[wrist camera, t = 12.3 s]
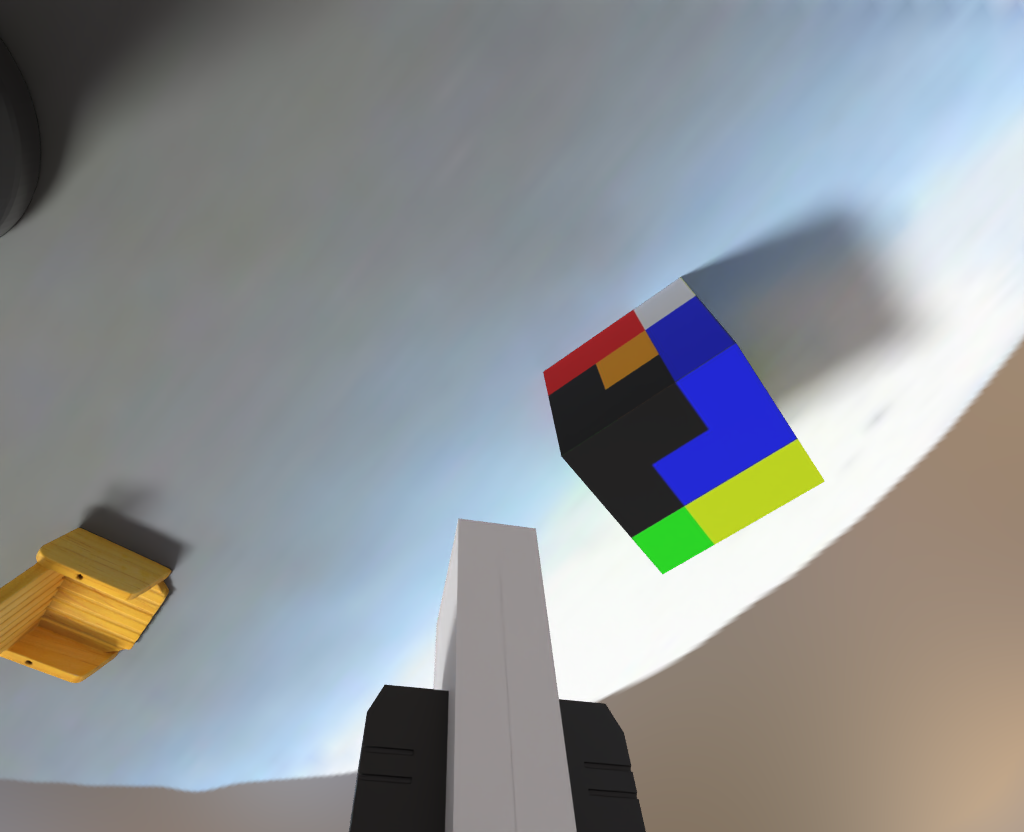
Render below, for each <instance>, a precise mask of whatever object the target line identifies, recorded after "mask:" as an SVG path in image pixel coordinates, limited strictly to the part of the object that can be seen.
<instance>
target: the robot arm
mask: <svg viewBox="0 0 1024 832" xmlns="http://www.w3.org/2000/svg"><path fill="white" fill-rule="evenodd" d="M40 153H41V148H40V135H39V128H38V123H37V118H36V113H35V110H34V106H33V103H32V100H31V97H30V94H29V91H28V89H27V86H26V84H25V82H24V79H23V77H22V75H21V73H20V71H19V69H18V67H17V65H16V63H15V61H14V59H13V58H12V56H11V54H10V52H9V51H8V49H7V48H6V46H5V45H4V43H3V42H2V40H1V39H0V237H1V236H2V235H4V234H5V233H6V232H7V231H8V230H10V229H11V228H12V227H13V226H14V225H15V223H16V222H17V221H18V220H19V219H20V217H21V216H22V215H23V213H24V212H25V210H26V208H27V207H28V205H29V203H30V201H31V199H32V196H33V193H34V191H35V188H36V184H37V180H38V175H39V169H40ZM349 832H646V831H645V826H644V822H643V817H642V813H641V808H640V804H639V800H638V799H637V790H636V786H635V781H634V777H633V772H631V763H630V759H629V754H628V749H627V745H626V740H625V736H624V732H623V731H622V729H621V728H620V726H619V725H618V723H617V722H616V720H615V718H614V717H613V715H612V714H611V712H610V711H609V709H608V707H607V706H606V704H602V703H592V702H582V701H571V700H561V699H559V698H558V690H557V683H556V675H555V668H554V661H553V653H552V646H551V639H550V631H549V624H548V617H547V609H546V602H545V594H544V587H543V580H542V572H541V565H540V558H539V550H538V543H537V535H536V529H535V528H527V527H519V526H512V525H504V524H496V523H488V522H481V521H473V520H465V519H458V523H457V528H456V533H455V538H454V543H453V548H452V552H451V557H450V562H449V567H448V572H447V577H446V581H445V586H444V591H443V596H442V601H441V605H440V610H439V615H438V620H437V629H436V648H435V668H434V688H433V689H425V688H414V687H404V686H393V685H384V687H383V688H382V690H381V691H380V693H379V695H378V696H377V698H376V699H375V701H374V702H373V704H372V705H371V707H370V708H369V710H368V711H367V716H366V722H365V729H364V735H363V741H362V748H361V754H360V760H359V767H358V773H357V780H356V787H355V794H354V800H353V808H352V814H351V821H350V828H349Z"/></svg>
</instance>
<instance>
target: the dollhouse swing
mask: <svg viewBox="0 0 1024 832" xmlns="http://www.w3.org/2000/svg"><path fill="white" fill-rule="evenodd" d="M36 559H37V563H36V564H35V565H34V566H32V567H31V568H29V569H28V570H26V571H25V572H23V573H22V574H21V575H19V576H17V577H16V578H15V579H13V580H12V581H10V582H9V583H7V584H6V585H4V586H3V587H2V588H0V656H1V657H4V658H6V659H9V660H12V661H14V662H17V663H20V664H22V665H25V666H28V667H30V668H33V669H36V670H39V671H42V672H44V673H47V674H50V675H52V676H55V677H58V678H61V679H63V680H66V681H69V682H73V683H78V682H81V681H83V680H85V679H86V678H87V677H89V676H90V675H92V674H93V673H95V672H96V671H97V670H99V669H100V668H101V667H103V666H104V665H105V664H107V663H108V662H109V661H111V660H112V659H114V658H115V657H116V655H117V654H118V652H119V651H120V650H123V649H131V648H132V647H133V645H134V644H135V642H136V641H137V640H138V638H139V637H140V635H141V634H142V632H143V631H144V629H145V628H146V626H147V625H148V623H149V622H150V621H151V619H152V617H153V616H154V614H155V613H156V612H157V610H158V609H159V607H160V605H161V604H162V603H163V602H164V600H165V598H166V597H167V595H168V593H169V589H168V588H167V586H166V584H165V582H164V581H163V580H164V579H166V578H167V577H168V576H169V575H170V573H171V570H170V569H169V568H167V567H165V566H163V565H160V564H159V563H157V562H154V561H152V560H150V559H148V558H146V557H143V556H141V555H139V554H137V553H135V552H133V551H130V550H128V549H126V548H124V547H122V546H119V545H117V544H115V543H113V542H111V541H108V540H106V539H104V538H102V537H100V536H97V535H95V534H93V533H91V532H89V531H87V530H84V529H82V528H77V529H75V530H73V531H71V532H69V533H67V534H65V535H63V536H61V537H59V538H57V539H55V540H53V541H51V542H49V543H47V544H45V545H43V546H42V547H41V548H40V550H39V551H38V553H37V555H36Z"/></svg>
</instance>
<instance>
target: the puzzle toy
mask: <svg viewBox="0 0 1024 832" xmlns="http://www.w3.org/2000/svg"><path fill="white" fill-rule="evenodd" d="M543 373H544V378H545V382H546V387H547V392H548V396H549V401H550V406H551V410H552V415H553V419H554V424H555V429H556V433H557V438H558V443H559V447H560V452H561V456H562V457H563V459H564V460H565V461H566V462H567V463H568V464H569V466H570V467H571V468H572V469H573V470H574V471H575V473H576V474H577V475H578V476H579V477H580V478H581V480H582V481H583V482H584V483H585V484H586V485H587V487H588V488H589V489H590V490H591V491H592V492H593V494H594V495H595V496H596V497H597V498H598V499H599V501H600V502H601V503H602V504H603V505H604V506H605V508H606V509H607V510H608V511H609V512H610V513H611V515H612V516H613V517H614V518H615V519H616V520H617V522H618V523H619V524H620V525H621V526H622V527H623V529H624V530H625V531H626V532H627V533H628V534H629V536H630V537H631V538H632V539H633V540H634V541H635V543H636V544H637V545H638V546H639V547H640V548H641V550H642V551H643V552H644V553H645V554H646V555H647V557H648V558H649V559H650V560H651V561H652V562H653V564H654V565H655V566H656V567H657V568H658V569H659V571H660V572H661V573H662V574H664V573H666V572H668V571H669V570H671V569H673V568H675V567H676V566H678V565H680V564H682V563H683V562H685V561H687V560H689V559H690V558H692V557H694V556H695V555H697V554H699V553H701V552H702V551H704V550H706V549H708V548H709V547H711V546H713V545H715V544H716V543H718V542H720V541H722V540H723V539H725V538H727V537H729V536H730V535H732V534H734V533H736V532H737V531H739V530H741V529H743V528H744V527H746V526H748V525H750V524H751V523H753V522H755V521H756V520H758V519H760V518H762V517H763V516H765V515H767V514H769V513H770V512H772V511H774V510H776V509H777V508H779V507H781V506H783V505H784V504H786V503H788V502H790V501H791V500H793V499H795V498H797V497H798V496H800V495H802V494H804V493H805V492H807V491H809V490H811V489H812V488H814V487H816V486H817V485H819V484H821V483H823V482H824V479H823V478H822V476H821V475H820V473H819V471H818V470H817V468H816V467H815V465H814V464H813V462H812V461H811V459H810V457H809V456H808V454H807V453H806V451H805V450H804V448H803V447H802V445H801V443H800V442H799V440H798V439H797V437H796V436H795V434H794V432H793V431H792V429H791V428H790V426H789V425H788V423H787V422H786V420H785V418H784V417H783V415H782V414H781V412H780V411H779V409H778V408H777V406H776V404H775V403H774V401H773V400H772V398H771V397H770V395H769V393H768V392H767V390H766V389H765V387H764V386H763V384H762V383H761V381H760V379H759V378H758V376H757V375H756V373H755V372H754V370H753V369H752V367H751V365H750V364H749V362H748V361H747V359H746V358H745V356H744V354H743V353H742V351H741V350H740V348H739V347H738V345H737V344H736V342H735V341H734V340H733V339H732V337H731V336H730V335H729V334H728V333H727V331H726V330H725V329H724V328H723V327H722V326H721V324H720V323H719V322H718V321H717V320H716V318H715V317H714V316H713V315H712V314H711V312H710V311H709V310H708V309H707V308H706V307H705V305H704V304H703V303H702V302H701V301H700V299H699V298H698V297H697V296H696V295H695V293H694V292H693V291H692V290H691V289H690V287H689V286H688V285H687V284H686V283H685V282H684V280H683V279H682V278H681V277H680V278H678V279H677V280H676V281H674V282H673V283H671V284H670V285H668V286H667V287H665V288H664V289H663V290H661V291H660V292H658V293H657V294H655V295H654V296H652V297H651V298H650V299H648V300H647V301H645V302H644V303H642V304H641V305H639V306H638V307H636V308H635V309H634V310H632V311H631V312H629V313H628V314H626V315H625V316H623V317H622V318H621V319H619V320H618V321H616V322H615V323H613V324H612V325H610V326H609V327H608V328H606V329H605V330H603V331H602V332H600V333H599V334H597V335H596V336H595V337H593V338H592V339H590V340H589V341H587V342H586V343H584V344H583V345H582V346H580V347H579V348H577V349H576V350H574V351H573V352H571V353H570V354H569V355H567V356H566V357H564V358H563V359H561V360H560V361H558V362H557V363H556V364H554V365H553V366H551V367H550V368H548V369H547V370H545V371H544V372H543Z"/></svg>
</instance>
